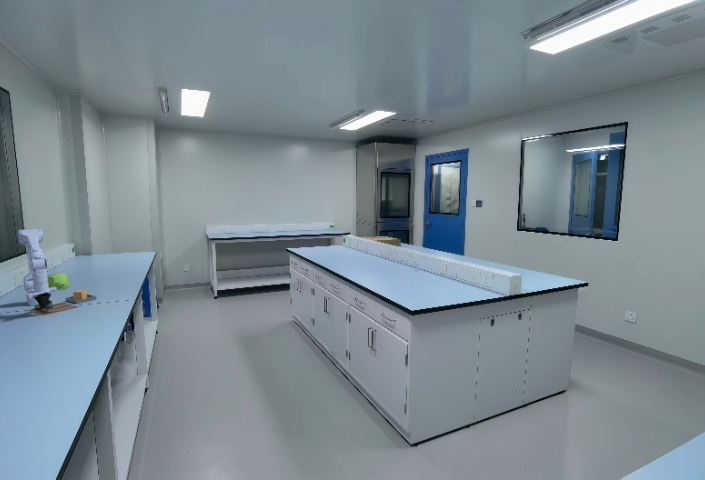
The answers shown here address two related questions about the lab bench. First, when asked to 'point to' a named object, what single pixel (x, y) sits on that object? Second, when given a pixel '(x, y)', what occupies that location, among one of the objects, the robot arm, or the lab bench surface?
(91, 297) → the tray
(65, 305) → the crank board
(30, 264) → the robot arm
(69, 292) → the lab bench surface
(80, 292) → the stop block
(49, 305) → the crank
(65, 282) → the green rough block
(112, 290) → the lab bench surface
